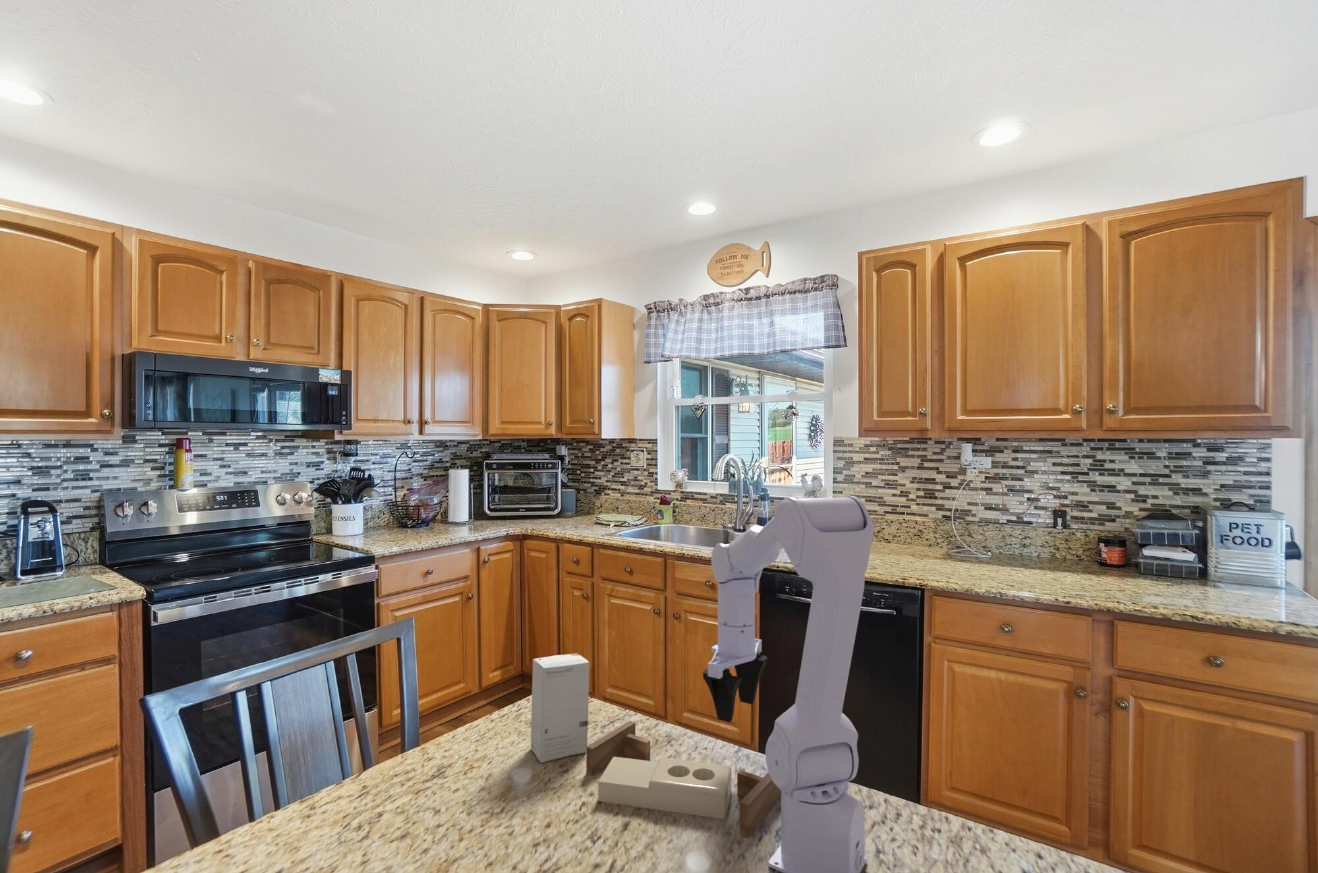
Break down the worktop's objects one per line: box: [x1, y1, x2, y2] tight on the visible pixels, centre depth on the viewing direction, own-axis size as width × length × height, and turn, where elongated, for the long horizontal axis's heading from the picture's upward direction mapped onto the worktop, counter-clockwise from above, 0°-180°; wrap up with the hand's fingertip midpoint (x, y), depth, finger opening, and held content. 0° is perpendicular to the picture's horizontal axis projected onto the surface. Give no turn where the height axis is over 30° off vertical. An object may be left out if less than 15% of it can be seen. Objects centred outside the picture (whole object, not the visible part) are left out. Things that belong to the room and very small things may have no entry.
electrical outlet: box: [597, 756, 732, 820], centre depth 88 cm, size 7×4×18 cm
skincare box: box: [530, 653, 590, 764], centre depth 101 cm, size 8×6×15 cm
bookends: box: [585, 720, 781, 838], centre depth 91 cm, size 27×11×4 cm, turn 56°
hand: (736, 711), depth 94 cm, fingers open, 7 cm apart
